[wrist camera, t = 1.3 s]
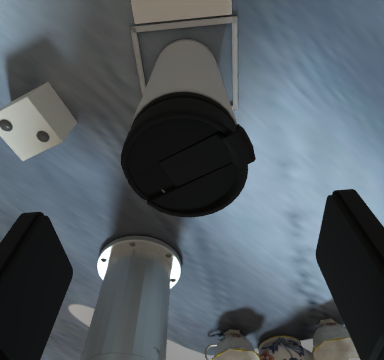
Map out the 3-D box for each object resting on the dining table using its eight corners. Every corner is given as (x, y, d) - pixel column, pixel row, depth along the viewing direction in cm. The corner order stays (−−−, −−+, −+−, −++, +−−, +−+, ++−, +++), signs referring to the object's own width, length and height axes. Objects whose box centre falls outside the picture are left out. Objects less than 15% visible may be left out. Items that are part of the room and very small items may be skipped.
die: (78, 122, 34) (62, 142, 30) (42, 139, 35) (22, 161, 31) (48, 81, 31) (26, 96, 27) (11, 101, 33) (-16, 119, 28)
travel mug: (230, 80, 31) (277, 194, 15) (176, 111, 33) (163, 244, 16) (201, 22, 28) (218, 81, 12) (143, 59, 30) (87, 157, 14)
